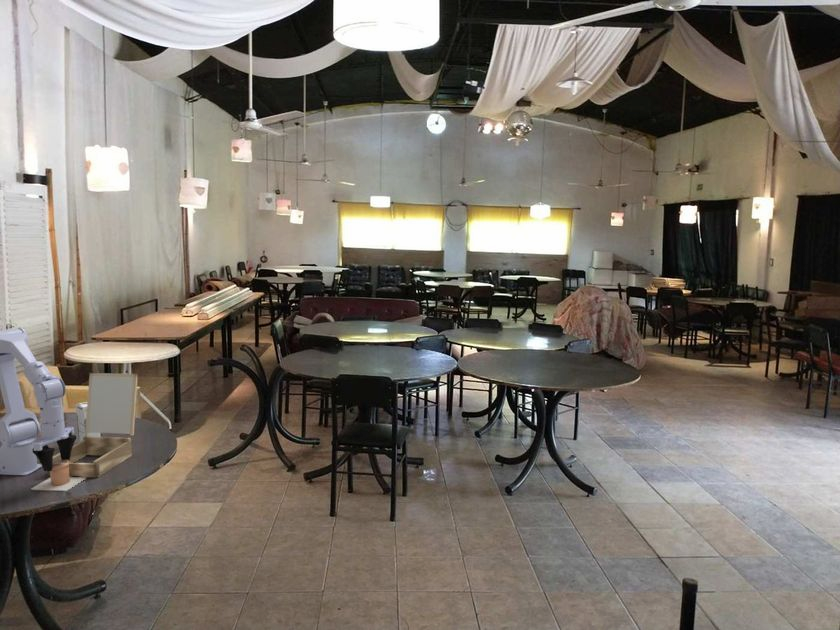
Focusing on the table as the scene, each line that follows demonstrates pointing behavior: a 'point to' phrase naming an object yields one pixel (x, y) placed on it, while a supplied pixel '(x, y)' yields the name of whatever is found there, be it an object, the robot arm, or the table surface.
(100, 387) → the lid
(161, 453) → the table surface
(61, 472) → the terracotta flower pot
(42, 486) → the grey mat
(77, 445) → the cold frame
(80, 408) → the syrup box
